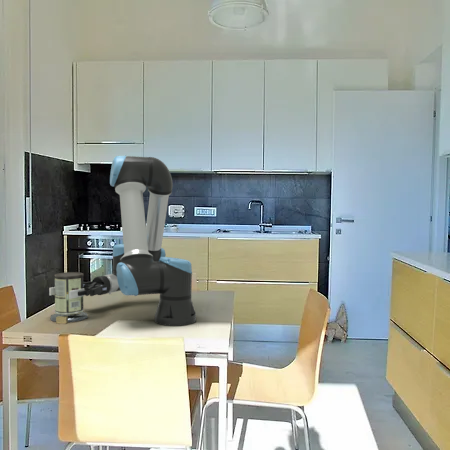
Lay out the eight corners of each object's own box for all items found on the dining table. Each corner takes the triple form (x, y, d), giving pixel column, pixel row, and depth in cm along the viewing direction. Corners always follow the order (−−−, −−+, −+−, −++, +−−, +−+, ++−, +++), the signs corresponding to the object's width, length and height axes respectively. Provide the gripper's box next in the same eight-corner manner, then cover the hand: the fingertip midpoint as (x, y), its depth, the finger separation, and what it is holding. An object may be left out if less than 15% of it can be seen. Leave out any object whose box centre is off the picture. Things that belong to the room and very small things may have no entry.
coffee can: (66, 307, 180) (66, 271, 179) (89, 309, 177) (89, 273, 176) (48, 313, 170) (48, 275, 170) (71, 316, 167) (71, 276, 166)
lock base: (60, 312, 182) (59, 307, 182) (93, 313, 181) (93, 307, 181) (43, 323, 166) (43, 317, 166) (79, 323, 165) (79, 317, 165)
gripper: (125, 297, 183) (81, 307, 164) (85, 290, 195) (39, 299, 176) (125, 278, 183) (81, 286, 163) (85, 273, 194) (39, 280, 175)
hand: (59, 293), depth 169 cm, fingers closed on coffee can, 10 cm apart
